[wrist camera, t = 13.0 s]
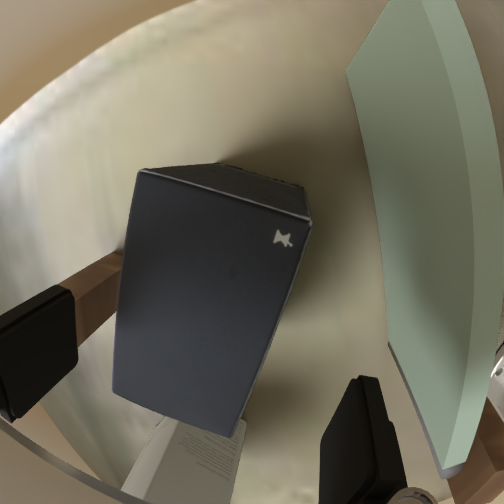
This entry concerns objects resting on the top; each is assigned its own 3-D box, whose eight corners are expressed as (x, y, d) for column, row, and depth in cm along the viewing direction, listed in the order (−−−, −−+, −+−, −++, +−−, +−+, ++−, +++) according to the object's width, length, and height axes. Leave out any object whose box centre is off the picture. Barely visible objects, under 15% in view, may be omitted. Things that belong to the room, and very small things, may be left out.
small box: (208, 158, 20) (129, 159, 10) (308, 187, 20) (326, 215, 10) (173, 304, 23) (103, 395, 13) (260, 333, 23) (237, 444, 13)
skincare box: (201, 456, 28) (161, 579, 13) (150, 425, 27) (89, 545, 13) (251, 418, 25) (220, 573, 11) (192, 381, 25) (124, 535, 11)
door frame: (439, 329, 21) (527, 464, 8) (423, 361, 22) (490, 502, 8) (112, 252, 22) (-33, 343, 9) (110, 288, 23) (-17, 394, 10)
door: (420, 343, 21) (485, 463, 9) (388, 351, 21) (438, 481, 10) (384, 67, 16) (478, -20, 5) (345, 71, 17) (407, -29, 5)
